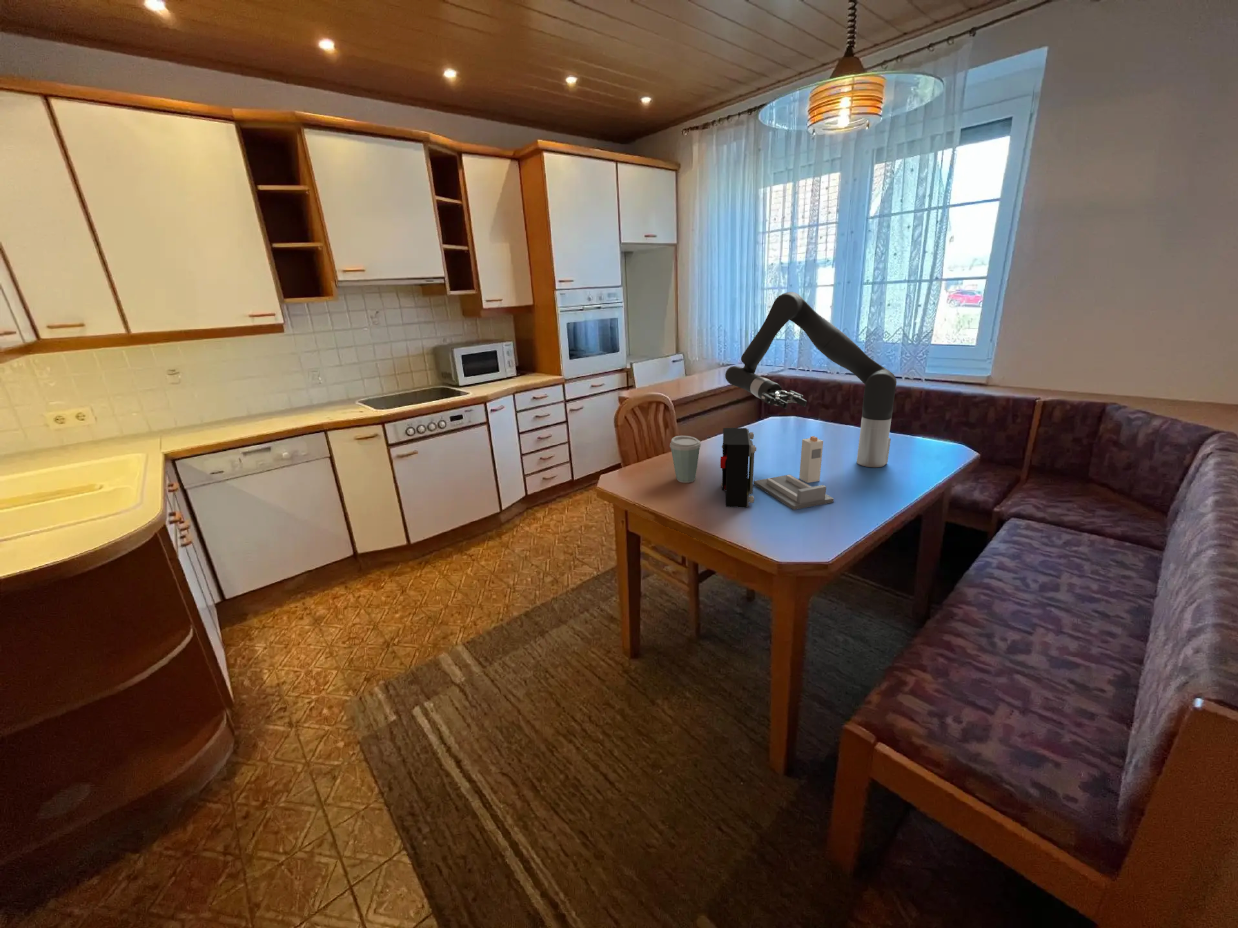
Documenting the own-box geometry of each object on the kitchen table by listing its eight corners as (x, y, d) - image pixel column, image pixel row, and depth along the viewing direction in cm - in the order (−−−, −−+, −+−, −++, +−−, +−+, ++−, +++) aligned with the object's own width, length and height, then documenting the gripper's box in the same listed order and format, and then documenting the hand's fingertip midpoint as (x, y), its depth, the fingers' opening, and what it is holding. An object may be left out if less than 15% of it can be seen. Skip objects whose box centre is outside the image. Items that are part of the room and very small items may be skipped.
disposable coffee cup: (704, 476, 174) (704, 435, 169) (695, 487, 165) (695, 444, 160) (676, 473, 179) (675, 433, 173) (666, 483, 169) (665, 442, 164)
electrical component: (754, 507, 148) (756, 444, 141) (719, 506, 150) (720, 444, 143) (751, 485, 164) (753, 428, 157) (720, 484, 166) (721, 428, 159)
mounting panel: (789, 477, 169) (790, 463, 167) (833, 502, 149) (835, 486, 147) (753, 484, 165) (754, 469, 163) (793, 509, 145) (794, 493, 143)
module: (811, 476, 169) (814, 434, 164) (820, 481, 165) (824, 437, 159) (799, 478, 168) (802, 435, 162) (808, 483, 163) (811, 439, 158)
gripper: (752, 381, 176) (782, 396, 163) (782, 378, 182) (814, 393, 169) (748, 400, 179) (777, 417, 167) (778, 397, 185) (809, 413, 172)
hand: (796, 405), depth 168 cm, fingers open, 8 cm apart
